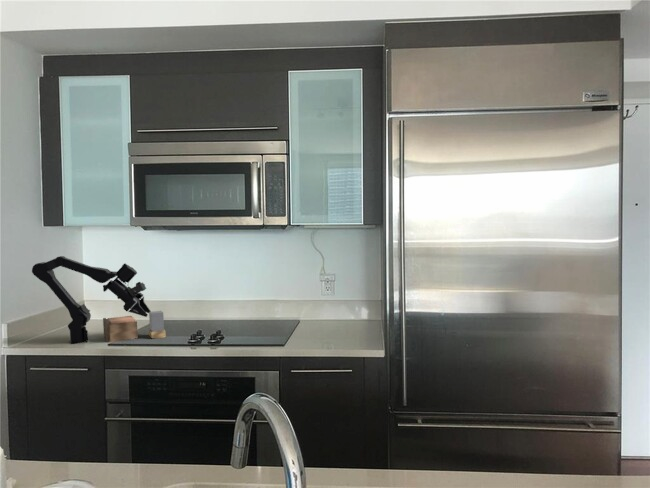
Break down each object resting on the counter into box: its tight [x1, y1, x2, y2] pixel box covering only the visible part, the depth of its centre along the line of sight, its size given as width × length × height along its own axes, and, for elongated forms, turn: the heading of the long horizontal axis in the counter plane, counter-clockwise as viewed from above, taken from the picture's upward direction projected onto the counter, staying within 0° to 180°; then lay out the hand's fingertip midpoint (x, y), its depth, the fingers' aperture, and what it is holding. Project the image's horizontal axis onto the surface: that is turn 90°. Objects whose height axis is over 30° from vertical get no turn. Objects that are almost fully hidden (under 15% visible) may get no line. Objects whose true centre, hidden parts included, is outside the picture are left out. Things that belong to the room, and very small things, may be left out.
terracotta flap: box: [106, 315, 136, 324], centre depth 253 cm, size 10×10×1 cm
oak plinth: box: [148, 329, 167, 339], centre depth 253 cm, size 6×6×3 cm
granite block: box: [148, 310, 165, 332], centre depth 253 cm, size 5×5×8 cm
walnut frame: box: [102, 317, 139, 343], centre depth 253 cm, size 12×13×8 cm
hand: (148, 314), depth 252 cm, fingers open, 9 cm apart
